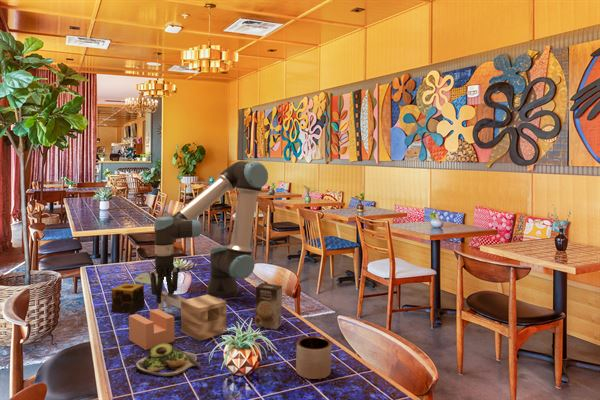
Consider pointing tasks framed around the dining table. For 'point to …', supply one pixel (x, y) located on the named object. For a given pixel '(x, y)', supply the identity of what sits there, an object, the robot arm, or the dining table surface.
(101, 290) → the dining table surface
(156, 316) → the cradle
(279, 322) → the coffee box
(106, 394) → the dining table surface
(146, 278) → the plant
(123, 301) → the dark brown holed cube
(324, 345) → the planter
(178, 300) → the tan wooden bar
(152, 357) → the salad plate
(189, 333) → the brown notched block
